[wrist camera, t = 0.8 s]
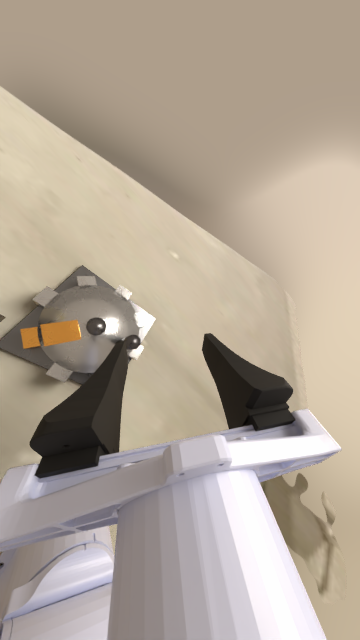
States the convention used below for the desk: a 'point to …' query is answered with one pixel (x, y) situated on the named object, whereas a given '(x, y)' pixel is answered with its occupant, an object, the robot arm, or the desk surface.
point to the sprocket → (84, 326)
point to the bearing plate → (14, 338)
